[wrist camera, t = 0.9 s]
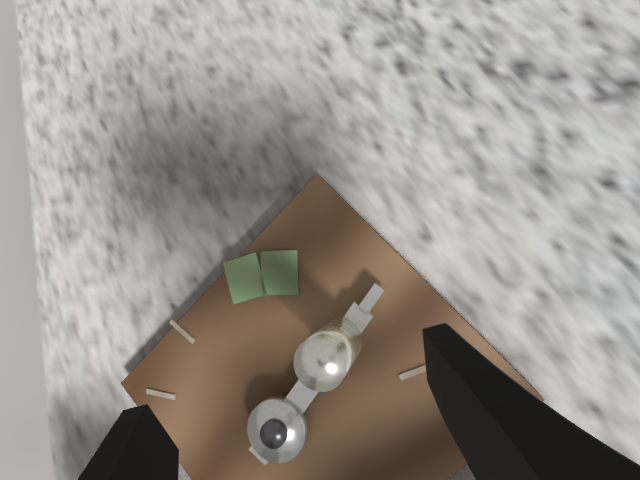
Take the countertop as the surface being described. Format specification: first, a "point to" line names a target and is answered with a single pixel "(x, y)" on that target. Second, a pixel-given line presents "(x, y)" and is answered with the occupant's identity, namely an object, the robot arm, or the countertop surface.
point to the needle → (309, 383)
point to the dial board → (282, 342)
